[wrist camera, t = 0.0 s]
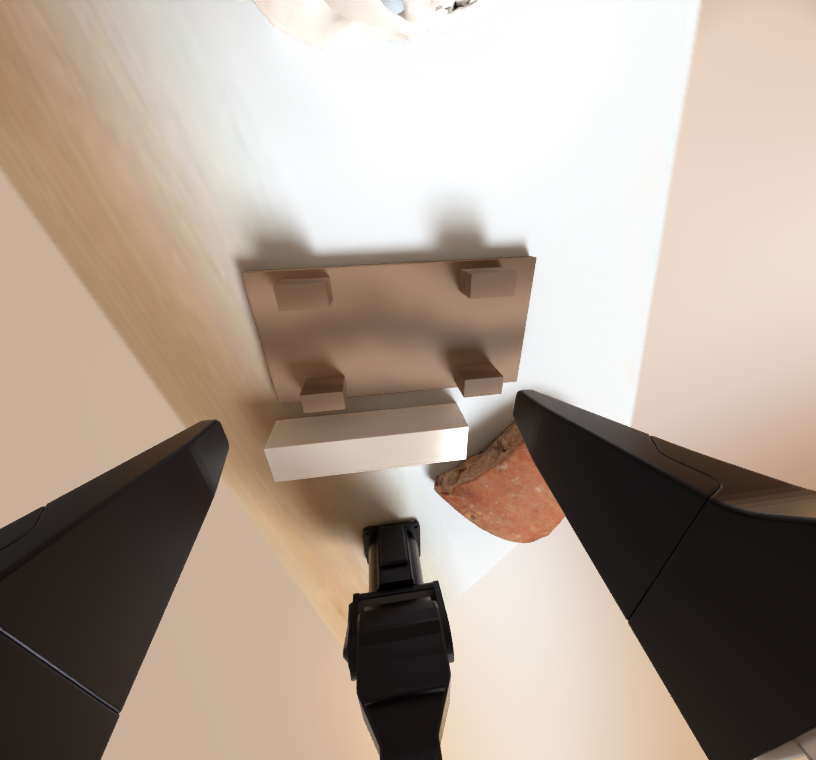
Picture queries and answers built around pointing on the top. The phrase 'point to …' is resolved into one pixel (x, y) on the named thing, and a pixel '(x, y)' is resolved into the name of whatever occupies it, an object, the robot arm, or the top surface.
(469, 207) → the top surface
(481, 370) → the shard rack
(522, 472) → the ceramic shard
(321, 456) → the clay strip
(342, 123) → the top surface
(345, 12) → the skull bowl
